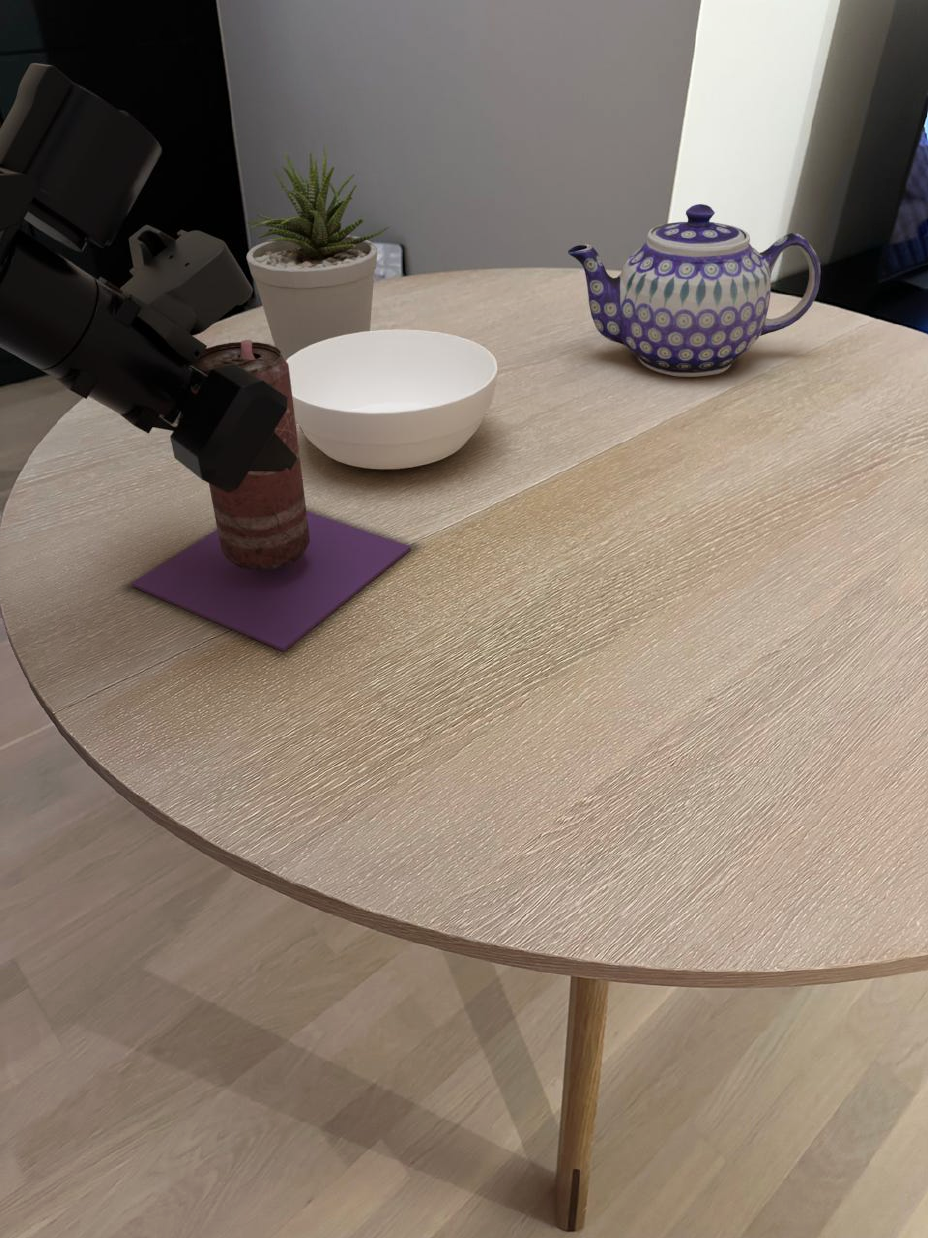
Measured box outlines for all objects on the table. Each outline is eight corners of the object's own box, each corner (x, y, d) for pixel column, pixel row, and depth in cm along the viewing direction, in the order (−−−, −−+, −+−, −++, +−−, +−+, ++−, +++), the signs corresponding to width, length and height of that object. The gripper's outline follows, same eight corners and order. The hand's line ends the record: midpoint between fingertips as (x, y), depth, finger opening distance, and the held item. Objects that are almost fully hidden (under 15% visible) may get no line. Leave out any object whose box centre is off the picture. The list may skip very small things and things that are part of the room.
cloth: (132, 586, 65) (131, 583, 65) (268, 501, 74) (267, 497, 74) (283, 652, 59) (283, 648, 59) (411, 549, 68) (410, 546, 68)
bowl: (260, 430, 85) (248, 353, 80) (438, 389, 92) (435, 315, 87) (337, 519, 72) (327, 433, 67) (537, 463, 79) (540, 381, 74)
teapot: (788, 332, 102) (817, 185, 93) (823, 388, 90) (861, 225, 81) (559, 332, 104) (566, 187, 95) (564, 386, 91) (572, 226, 82)
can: (309, 522, 68) (286, 333, 60) (311, 568, 63) (286, 368, 55) (225, 530, 67) (190, 339, 59) (220, 577, 62) (181, 375, 54)
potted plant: (417, 368, 96) (407, 155, 84) (296, 400, 90) (266, 175, 78) (358, 333, 104) (341, 135, 92) (244, 361, 98) (210, 153, 86)
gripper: (226, 223, 43) (422, 388, 55) (76, 164, 55) (265, 311, 67) (103, 427, 44) (323, 546, 56) (-20, 326, 56) (185, 442, 68)
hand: (272, 450), depth 62 cm, fingers closed on can, 5 cm apart
